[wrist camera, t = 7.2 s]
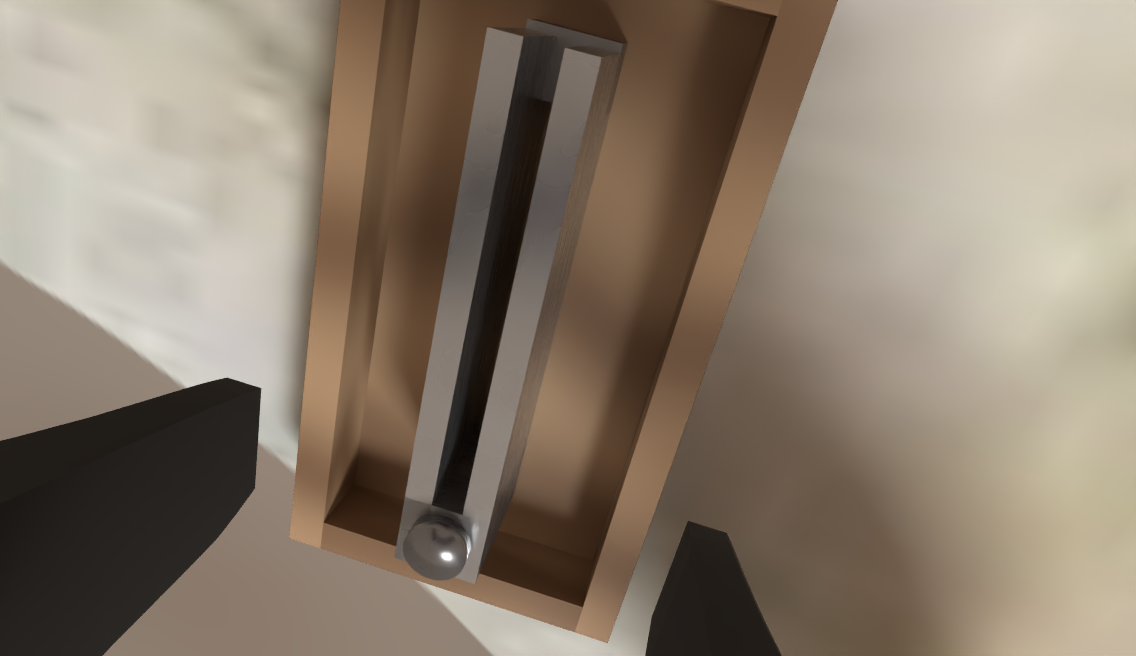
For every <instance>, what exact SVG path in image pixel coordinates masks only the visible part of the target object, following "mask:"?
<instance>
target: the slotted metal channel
mask: <svg viewBox="0 0 1136 656" xmlns="http://www.w3.org/2000/svg"><path fill="white" fill-rule="evenodd" d="M627 45H628V43H625V42H622V41H618V40H614V39H610V38H607V37H603V36H599V35H595V34H591V33H588V32H584V31H580V30H576V29H572V28H569V27H565V26H561V25H557V24H554V23H550V22H546V21H542V20H538V19H528V18H527V23H526V28H505V27H487V32H486V37H485V43H484V49H483V55H482V60H481V66H480V72H479V77H478V83H477V89H476V94H475V100H474V106H473V112H472V117H471V123H470V129H469V134H468V140H467V146H466V152H465V157H464V163H463V169H462V174H461V180H460V186H459V192H458V197H457V203H456V209H455V214H454V220H453V226H452V231H451V237H450V243H449V249H448V254H447V260H446V266H445V271H444V277H443V283H442V289H441V294H440V300H439V306H438V311H437V317H436V323H435V328H434V334H433V340H432V346H431V351H430V357H429V363H428V368H427V374H426V380H425V386H424V391H423V397H422V403H421V408H420V414H419V420H418V426H417V431H416V437H415V443H414V448H413V454H412V460H411V465H410V471H409V477H408V483H407V488H406V494H405V500H404V505H403V511H402V517H401V523H400V528H399V534H398V540H397V545H396V551H395V557H394V558H396V559H400V560H403V561H406V562H407V563H408V564H409V565H410V567H411V568H412V569H413V570H414V571H416V572H417V573H418V574H420V575H422V576H424V577H426V578H428V579H432V580H439V581H442V580H449V579H452V578H457V579H461V580H464V581H467V582H470V583H473V584H475V583H476V581H477V578H478V576H479V574H480V571H481V569H482V567H483V564H484V562H485V560H486V557H487V555H488V553H489V550H490V548H491V546H492V544H493V541H494V539H495V537H496V534H497V532H498V530H499V527H500V525H501V523H502V520H503V518H504V516H505V513H506V511H507V509H508V506H509V504H510V502H511V499H512V497H513V495H514V492H515V488H516V484H517V480H518V476H519V472H520V468H521V464H522V460H523V456H524V452H525V448H526V444H527V440H528V436H529V432H530V428H531V424H532V420H533V417H534V413H535V409H536V405H537V401H538V397H539V393H540V389H541V385H542V381H543V377H544V373H545V369H546V365H547V361H548V357H549V353H550V349H551V345H552V341H553V337H554V333H555V330H556V326H557V322H558V318H559V314H560V310H561V306H562V302H563V298H564V294H565V290H566V286H567V282H568V278H569V274H570V270H571V266H572V262H573V258H574V254H575V250H576V246H577V242H578V239H579V235H580V231H581V227H582V223H583V219H584V215H585V211H586V207H587V203H588V199H589V195H590V191H591V187H592V183H593V179H594V175H595V171H596V167H597V163H598V159H599V155H600V152H601V148H602V144H603V140H604V136H605V132H606V128H607V124H608V120H609V116H610V112H611V108H612V104H613V100H614V96H615V92H616V88H617V84H618V80H619V76H620V72H621V68H622V64H623V61H624V57H625V53H626V49H627ZM550 102H552V103H553V105H552V109H551V114H550V118H549V123H548V127H547V132H546V136H545V141H544V146H543V150H542V155H541V159H540V164H539V168H538V173H537V178H536V182H535V187H534V191H533V196H532V200H531V205H530V209H529V214H528V219H527V223H526V228H525V232H524V237H523V241H522V246H521V250H520V255H519V260H518V264H517V269H516V273H515V278H514V282H513V287H512V292H511V296H510V301H509V305H508V310H507V314H506V319H505V323H504V328H503V333H502V337H501V342H500V346H499V351H498V355H497V360H496V364H495V369H494V374H493V378H492V383H491V387H490V392H489V396H488V401H487V406H486V410H485V415H484V419H483V424H482V425H480V420H481V415H482V411H483V406H484V402H485V397H486V392H487V388H488V383H489V379H490V374H491V369H492V365H493V360H494V356H495V351H496V346H497V342H498V337H499V333H500V328H501V323H502V319H503V314H504V310H505V305H506V301H507V296H508V291H509V287H510V282H511V278H512V273H513V268H514V264H515V259H516V255H517V250H518V245H519V241H520V236H521V232H522V227H523V222H524V218H525V213H526V209H527V204H528V199H529V195H530V190H531V186H532V181H533V176H534V172H535V167H536V163H537V158H538V153H539V149H540V144H541V140H542V135H543V130H544V126H545V121H546V117H547V112H548V107H549V103H550Z"/></svg>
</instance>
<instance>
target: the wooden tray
mask: <svg viewBox="0 0 1136 656" xmlns="http://www.w3.org/2000/svg"><path fill="white" fill-rule="evenodd" d="M837 1H838V0H341V2H340V13H339V23H338V34H337V44H336V55H335V65H334V76H333V86H332V97H331V107H330V118H329V128H328V139H327V149H326V160H325V170H324V181H323V191H322V202H321V212H320V223H319V233H318V244H317V255H316V265H315V276H314V286H313V297H312V307H311V318H310V328H309V339H308V349H307V360H306V370H305V381H304V391H303V402H302V412H301V423H300V433H299V444H298V454H297V465H296V475H295V486H294V496H293V507H292V517H291V529H290V539H293V540H296V541H300V542H303V543H306V544H309V545H312V546H315V547H318V548H321V549H324V550H327V551H330V552H333V553H336V554H339V555H342V556H345V557H348V558H351V559H354V560H357V561H360V562H364V563H366V564H370V565H372V566H375V567H378V568H381V569H385V570H388V571H390V572H394V573H397V574H400V575H403V576H406V577H409V578H412V579H415V580H418V581H421V582H424V583H427V584H430V585H433V586H436V587H439V588H442V589H445V590H448V591H451V592H454V593H457V594H460V595H463V596H466V597H469V598H472V599H475V600H478V601H482V602H485V603H488V604H491V605H494V606H497V607H500V608H503V609H506V610H509V611H512V612H515V613H518V614H521V615H524V616H527V617H530V618H533V619H536V620H539V621H542V622H545V623H548V624H551V625H554V626H557V627H560V628H563V629H566V630H570V631H573V632H576V633H579V634H582V635H585V636H588V637H591V638H594V639H597V640H600V641H603V642H606V643H608V641H609V638H610V635H611V632H612V630H613V627H614V624H615V621H616V618H617V616H618V613H619V610H620V607H621V604H622V602H623V599H624V596H625V593H626V591H627V588H628V585H629V582H630V579H631V577H632V574H633V571H634V568H635V565H636V563H637V560H638V557H639V554H640V551H641V549H642V546H643V543H644V540H645V537H646V535H647V532H648V529H649V526H650V523H651V521H652V518H653V515H654V512H655V510H656V507H657V504H658V501H659V498H660V496H661V493H662V490H663V487H664V484H665V482H666V479H667V476H668V473H669V470H670V468H671V465H672V462H673V459H674V456H675V454H676V451H677V448H678V445H679V442H680V440H681V437H682V434H683V431H684V429H685V426H686V423H687V420H688V417H689V415H690V412H691V409H692V406H693V403H694V401H695V398H696V395H697V392H698V389H699V387H700V384H701V381H702V378H703V375H704V373H705V370H706V367H707V364H708V361H709V359H710V356H711V353H712V350H713V348H714V345H715V342H716V339H717V336H718V334H719V331H720V328H721V325H722V322H723V320H724V317H725V314H726V311H727V308H728V306H729V303H730V300H731V297H732V294H733V292H734V289H735V286H736V283H737V280H738V278H739V275H740V272H741V269H742V267H743V264H744V261H745V258H746V255H747V253H748V250H749V247H750V244H751V241H752V239H753V236H754V233H755V230H756V227H757V225H758V222H759V219H760V216H761V213H762V211H763V208H764V205H765V202H766V199H767V197H768V194H769V191H770V188H771V186H772V183H773V180H774V177H775V174H776V172H777V169H778V166H779V163H780V160H781V158H782V155H783V152H784V149H785V146H786V144H787V141H788V138H789V135H790V132H791V130H792V127H793V124H794V121H795V119H796V116H797V113H798V110H799V107H800V105H801V102H802V99H803V96H804V93H805V91H806V88H807V85H808V82H809V79H810V77H811V74H812V71H813V68H814V65H815V63H816V60H817V57H818V54H819V51H820V49H821V46H822V43H823V40H824V38H825V35H826V32H827V29H828V26H829V24H830V21H831V18H832V15H833V12H834V10H835V7H836V4H837ZM527 18H528V19H538V20H542V21H546V22H550V23H554V24H557V25H561V26H565V27H569V28H572V29H576V30H580V31H584V32H588V33H591V34H595V35H599V36H603V37H607V38H610V39H614V40H618V41H622V42H625V43H628V45H627V49H626V53H625V57H624V61H623V64H622V68H621V72H620V76H619V80H618V84H617V88H616V92H615V96H614V100H613V104H612V108H611V112H610V116H609V120H608V124H607V128H606V132H605V136H604V140H603V144H602V148H601V152H600V155H599V159H598V163H597V167H596V171H595V175H594V179H593V183H592V187H591V191H590V195H589V199H588V203H587V207H586V211H585V215H584V219H583V223H582V227H581V231H580V235H579V239H578V242H577V246H576V250H575V254H574V258H573V262H572V266H571V270H570V274H569V278H568V282H567V286H566V290H565V294H564V298H563V302H562V306H561V310H560V314H559V318H558V322H557V326H556V330H555V333H554V337H553V341H552V345H551V349H550V353H549V357H548V361H547V365H546V369H545V373H544V377H543V381H542V385H541V389H540V393H539V397H538V401H537V405H536V409H535V413H534V417H533V420H532V424H531V428H530V432H529V436H528V440H527V444H526V448H525V452H524V456H523V460H522V464H521V468H520V472H519V476H518V480H517V484H516V488H515V492H514V495H513V497H512V499H511V502H510V504H509V506H508V509H507V511H506V513H505V516H504V518H503V520H502V523H501V525H500V527H499V530H498V532H497V534H496V537H495V539H494V541H493V544H492V546H491V548H490V550H489V553H488V555H487V557H486V560H485V562H484V564H483V567H482V569H481V571H480V574H479V576H478V578H477V581H476V583H475V584H473V583H470V582H467V581H464V580H461V579H457V578H452V579H449V580H442V581H439V580H432V579H428V578H426V577H424V576H422V575H420V574H418V573H417V572H416V571H414V570H413V569H412V568H411V567H410V565H409V564H408V563H407V562H406V561H403V560H400V559H396V558H394V557H395V551H396V545H397V540H398V534H399V528H400V523H401V517H402V511H403V505H404V500H405V494H406V488H407V483H408V477H409V471H410V465H411V460H412V454H413V448H414V443H415V437H416V431H417V426H418V420H419V414H420V408H421V403H422V397H423V391H424V386H425V380H426V374H427V368H428V363H429V357H430V351H431V346H432V340H433V334H434V328H435V323H436V317H437V311H438V306H439V300H440V294H441V289H442V283H443V277H444V271H445V266H446V260H447V254H448V249H449V243H450V237H451V231H452V226H453V220H454V214H455V209H456V203H457V197H458V192H459V186H460V180H461V174H462V169H463V163H464V157H465V152H466V146H467V140H468V134H469V129H470V123H471V117H472V112H473V106H474V100H475V94H476V89H477V83H478V77H479V72H480V66H481V60H482V55H483V49H484V43H485V37H486V32H487V27H505V28H526V23H527ZM552 105H553V103H552V102H550V103H549V107H548V112H547V117H546V121H545V126H544V130H543V135H542V140H541V144H540V149H539V153H538V158H537V163H536V167H535V172H534V176H533V181H532V186H531V190H530V195H529V199H528V204H527V209H526V213H525V218H524V222H523V227H522V232H521V236H520V241H519V245H518V250H517V255H516V259H515V264H514V268H513V273H512V278H511V282H510V287H509V291H508V296H507V301H506V305H505V310H504V314H503V319H502V323H501V328H500V333H499V337H498V342H497V346H496V351H495V356H494V360H493V365H492V369H491V374H490V379H489V383H488V388H487V392H486V397H485V402H484V406H483V411H482V415H481V420H480V425H482V424H483V419H484V415H485V410H486V406H487V401H488V396H489V392H490V387H491V383H492V378H493V374H494V369H495V364H496V360H497V355H498V351H499V346H500V342H501V337H502V333H503V328H504V323H505V319H506V314H507V310H508V305H509V301H510V296H511V292H512V287H513V282H514V278H515V273H516V269H517V264H518V260H519V255H520V250H521V246H522V241H523V237H524V232H525V228H526V223H527V219H528V214H529V209H530V205H531V200H532V196H533V191H534V187H535V182H536V178H537V173H538V168H539V164H540V159H541V155H542V150H543V146H544V141H545V136H546V132H547V127H548V123H549V118H550V114H551V109H552Z"/></svg>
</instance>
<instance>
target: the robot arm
mask: <svg viewBox="0 0 1136 656" xmlns="http://www.w3.org/2000/svg"><path fill="white" fill-rule="evenodd" d="M260 399H261V388H259V387H255V386H252V385H249V384H246V383H243V382H239V381H236V380H233V379H230V378H224V379H219V380H215V381H211V382H207V383H203V384H200V385H196V386H193V387H189V388H186V389H182V390H179V391H176V392H172V393H169V394H166V395H163V396H160V397H156V398H153V399H149V400H146V401H143V402H140V403H136V404H133V405H130V406H126V407H123V408H120V409H116V410H113V411H110V412H106V413H103V414H100V415H97V416H93V417H90V418H86V419H83V420H79V421H75V422H71V423H67V424H64V425H60V426H56V427H52V428H48V429H45V430H41V431H37V432H34V433H30V434H26V435H22V436H19V437H15V438H11V439H6V440H2V441H0V656H102V655H104V653H105V652H106V651H107V650H108V649H109V648H110V647H111V646H112V645H113V644H114V643H115V642H116V641H117V640H118V639H119V638H120V637H121V636H122V635H123V634H124V633H125V632H126V631H127V630H128V629H129V628H130V627H131V626H132V625H133V624H134V623H135V622H136V621H137V620H138V619H139V618H140V617H141V616H142V614H143V613H145V612H146V611H147V610H148V609H149V608H150V607H151V606H152V605H153V604H154V602H155V601H156V600H157V599H158V598H159V597H160V596H161V595H162V594H163V593H164V592H165V591H166V590H167V589H168V588H169V587H170V586H171V585H172V584H173V583H174V582H175V581H176V580H177V579H178V578H179V577H180V576H181V575H182V574H183V573H184V572H185V571H186V570H187V569H188V568H189V567H190V566H191V565H192V564H193V563H194V562H195V561H196V560H197V559H198V558H199V557H200V556H201V555H202V554H203V553H204V552H205V551H206V550H207V548H208V547H209V546H210V545H211V544H212V543H213V542H214V541H215V540H216V539H217V538H218V537H219V535H220V534H221V533H222V532H223V530H224V529H225V528H226V526H227V525H228V524H229V522H230V521H231V520H232V519H233V518H234V516H235V515H236V514H237V512H238V511H239V509H240V508H241V507H242V505H243V504H244V503H245V501H246V500H247V498H248V497H249V496H250V494H251V493H252V492H253V490H254V489H255V477H256V462H257V446H258V431H259V415H260ZM645 656H782V655H781V653H780V651H779V649H778V647H777V645H776V643H775V641H774V639H773V637H772V635H771V633H770V631H769V629H768V627H767V625H766V622H765V620H764V618H763V616H762V614H761V612H760V610H759V607H758V605H757V603H756V601H755V598H754V596H753V594H752V592H751V589H750V587H749V585H748V582H747V580H746V578H745V575H744V573H743V570H742V568H741V566H740V563H739V561H738V558H737V556H736V553H735V551H734V548H733V546H732V543H731V541H730V539H729V537H728V535H727V533H725V532H722V531H718V530H715V529H712V528H709V527H705V526H702V525H699V524H696V523H693V522H689V521H688V523H687V525H686V528H685V531H684V533H683V536H682V539H681V541H680V544H679V546H678V549H677V552H676V554H675V557H674V560H673V562H672V565H671V568H670V570H669V573H668V576H667V578H666V581H665V584H664V586H663V589H662V591H661V594H660V597H659V599H658V602H657V605H656V607H655V610H654V613H653V615H652V619H651V625H650V631H649V637H648V643H647V649H646V655H645Z"/></svg>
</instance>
